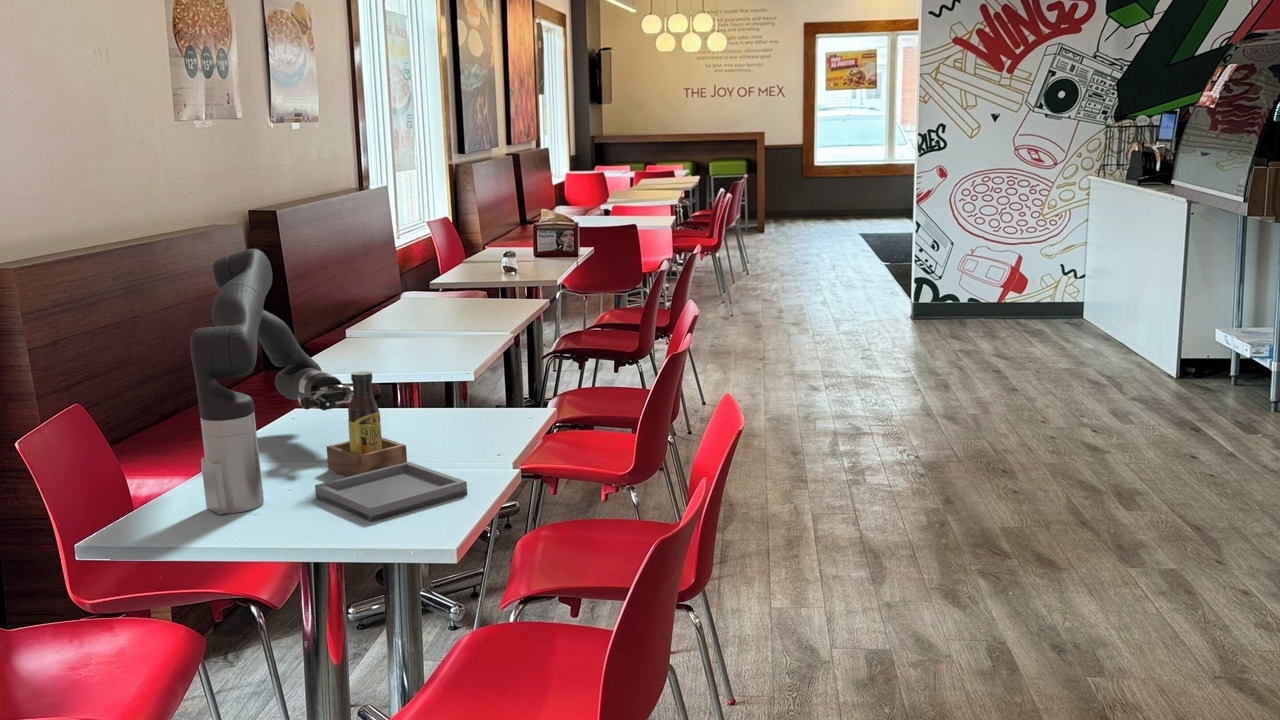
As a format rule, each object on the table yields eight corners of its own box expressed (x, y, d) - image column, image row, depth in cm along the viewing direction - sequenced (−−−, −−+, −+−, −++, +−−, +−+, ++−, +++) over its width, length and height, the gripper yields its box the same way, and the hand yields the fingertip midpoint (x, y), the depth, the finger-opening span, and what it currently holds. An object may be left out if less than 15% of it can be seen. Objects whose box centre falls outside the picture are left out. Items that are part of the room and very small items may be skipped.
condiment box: (358, 481, 220) (356, 457, 219) (328, 470, 229) (326, 446, 228) (407, 469, 227) (405, 445, 226) (376, 458, 236) (374, 435, 235)
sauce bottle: (365, 476, 223) (356, 377, 220) (345, 471, 227) (336, 374, 223) (391, 468, 229) (383, 371, 225) (370, 463, 232) (362, 368, 228)
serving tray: (371, 522, 196) (370, 508, 196) (316, 498, 211) (314, 485, 210) (467, 494, 210) (466, 481, 209) (409, 473, 224) (408, 461, 224)
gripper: (286, 377, 243) (309, 389, 230) (351, 368, 251) (377, 379, 237) (289, 411, 245) (312, 425, 231) (353, 401, 252) (379, 414, 239)
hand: (345, 402), depth 234 cm, fingers open, 8 cm apart
